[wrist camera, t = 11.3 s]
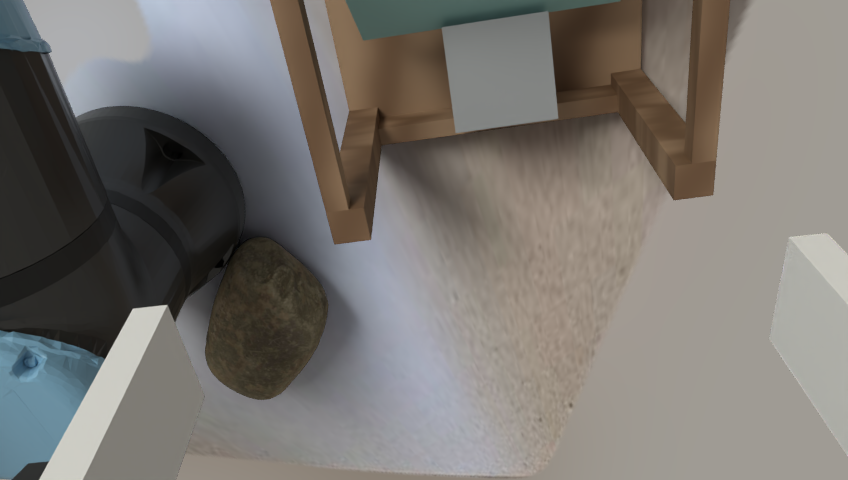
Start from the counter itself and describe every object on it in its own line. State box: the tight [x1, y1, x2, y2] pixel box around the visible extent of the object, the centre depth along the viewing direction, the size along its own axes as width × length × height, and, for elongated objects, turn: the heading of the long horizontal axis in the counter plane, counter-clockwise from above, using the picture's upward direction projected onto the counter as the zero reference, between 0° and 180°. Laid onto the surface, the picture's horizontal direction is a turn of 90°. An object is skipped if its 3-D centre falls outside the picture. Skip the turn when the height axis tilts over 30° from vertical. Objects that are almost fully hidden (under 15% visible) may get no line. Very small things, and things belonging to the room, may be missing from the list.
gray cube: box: [442, 11, 558, 133], centre depth 42 cm, size 6×6×6 cm
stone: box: [205, 237, 328, 400], centre depth 56 cm, size 9×14×10 cm, turn 154°
